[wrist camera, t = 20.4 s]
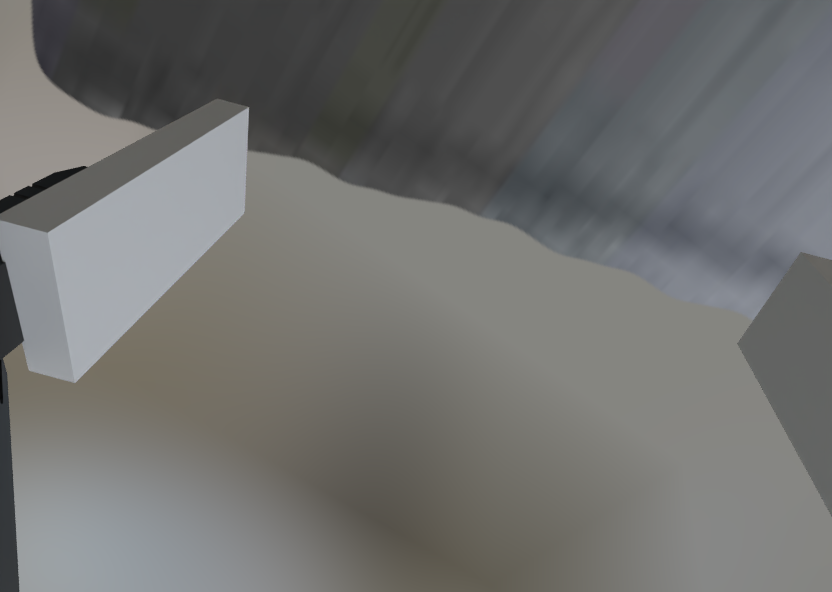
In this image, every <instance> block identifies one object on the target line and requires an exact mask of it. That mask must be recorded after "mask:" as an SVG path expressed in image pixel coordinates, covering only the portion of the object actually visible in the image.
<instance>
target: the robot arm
mask: <svg viewBox="0 0 832 592" xmlns="http://www.w3.org/2000/svg"><path fill="white" fill-rule="evenodd" d="M248 117H249V107H247V106H243V105H239V104H235V103H231V102H227V101H224V100H220V99H216V100H214V101H212V102H210V103H208V104H206V105H204V106H202V107H201V108H199V109H197V110H195V111H193V112H191V113H189V114H187V115H185V116H184V117H182V118H180V119H178V120H176V121H174V122H172V123H170V124H169V125H167V126H165V127H163V128H161V129H159V130H157V131H155V132H153V133H152V134H150V135H148V136H146V137H144V138H142V139H140V140H138V141H136V142H135V143H133V144H131V145H129V146H127V147H125V148H123V149H122V150H119V151H118V152H116V153H114V154H112V155H110V156H108V157H106V158H104V159H103V160H101V161H99V162H97V163H95V164H93V165H91V166H89V167H86V166H82V167H78V168H73V169H69V170H65V171H60V172H56V173H53V174H51V175H49V176H47V177H46V178H43V179H41V180H39V181H37V182H35V183H33V184H32V187H30V186H27V187H25V188H23V189H21V190H19V191H17V192H15V193H14V196H10V195H9V196H8V197H5V198H3V199H1V200H0V592H19V577H18V559H17V542H16V524H15V506H14V490H13V489H14V488H13V470H12V453H11V436H10V418H9V399H8V381H7V372H6V368H5V365H4V361H3V357H5V355H7V354H8V353H10V352H11V351H12V350H13V349H14V348H16V347H17V346H18V345H19V344H21V343H22V344H23V348H24V352H25V356H26V360H27V364H28V369H29V371H33V372H36V373H40V374H44V375H47V376H51V377H55V378H58V379H62V380H66V381H70V382H73V383H75V382H76V381H77V380H78V379H79V378H80V377H81V376H82V375H83V374H84V373H85V372H86V371H87V370H88V369H89V368H90V367H91V366H92V365H93V364H94V363H95V362H96V361H97V360H98V359H99V358H100V357H101V356H102V355H103V354H104V353H105V352H106V351H107V350H108V349H109V348H110V347H111V346H112V345H113V344H114V343H115V342H116V341H117V340H118V339H119V338H120V337H121V336H122V335H123V334H124V333H125V332H126V331H127V330H128V329H129V328H130V327H131V326H132V325H133V324H134V323H135V322H136V321H137V320H138V319H139V318H140V317H141V316H142V315H143V314H144V313H145V312H146V311H147V310H148V309H149V308H150V307H151V306H152V305H153V304H154V303H155V302H156V301H157V300H158V299H159V298H160V297H161V296H162V295H163V294H164V293H165V292H166V291H167V290H168V289H169V288H170V287H171V286H172V285H173V284H174V283H175V282H176V281H177V280H178V279H179V278H180V277H181V276H182V275H183V274H184V273H185V272H186V271H187V270H188V269H189V268H190V267H191V266H192V265H193V264H194V263H195V262H196V261H197V260H198V259H199V258H200V257H201V256H202V255H203V254H204V253H205V252H206V251H207V250H208V249H209V248H210V247H211V246H212V245H213V244H214V243H215V242H216V241H217V240H218V239H219V238H220V237H221V236H222V235H223V234H224V233H225V232H226V231H227V230H228V229H229V228H230V227H231V226H232V225H233V224H234V223H235V222H236V221H237V220H238V219H239V218H240V217H241V216H242V215H243V214H244V213H245V187H246V165H247V164H246V163H247V141H248ZM737 344H738V346H739V347H740V349H741V351H742V353H743V355H744V356H745V358H746V360H747V362H748V364H749V366H750V367H751V369H752V371H753V373H754V375H755V377H756V379H757V380H758V382H759V384H760V386H761V388H762V390H763V391H764V393H765V395H766V397H767V399H768V401H769V402H770V404H771V406H772V408H773V410H774V412H775V413H776V415H777V417H778V419H779V420H780V422H781V424H782V426H783V428H784V430H785V432H786V433H787V435H788V437H789V439H790V441H791V443H792V444H793V446H794V448H795V450H796V452H797V454H798V455H799V457H800V459H801V461H802V463H803V465H804V466H805V468H806V470H807V472H808V474H809V476H810V477H811V479H812V481H813V483H814V485H815V487H816V488H817V490H818V492H819V494H820V496H821V497H822V499H823V501H824V503H825V505H826V506H827V508H828V510H829V512H830V514H831V516H832V260H829V259H825V258H821V257H817V256H813V255H810V254H806V253H802V252H801V253H800V254H799V256H798V257H797V259H796V260H795V261H794V263H793V264H792V266H791V267H790V269H789V270H788V272H787V273H786V274H785V276H784V277H783V279H782V280H781V282H780V283H779V284H778V286H777V287H776V289H775V290H774V292H773V293H772V294H771V296H770V297H769V299H768V300H767V302H766V303H765V305H764V306H763V307H762V309H761V310H760V312H759V313H758V315H757V316H756V317H755V319H754V320H753V322H752V323H751V325H750V326H749V328H748V329H747V330H746V332H745V333H744V335H743V336H742V338H741V339H740V340H739V342H738V343H737Z"/></svg>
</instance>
